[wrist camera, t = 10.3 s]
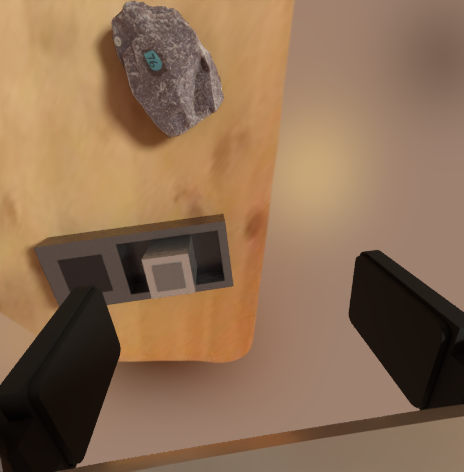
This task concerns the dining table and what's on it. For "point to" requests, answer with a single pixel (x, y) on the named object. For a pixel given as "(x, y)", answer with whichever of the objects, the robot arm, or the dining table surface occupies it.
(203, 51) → the rock
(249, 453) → the robot arm
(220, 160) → the dining table surface
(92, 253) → the grey tray with recess
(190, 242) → the gray cube
